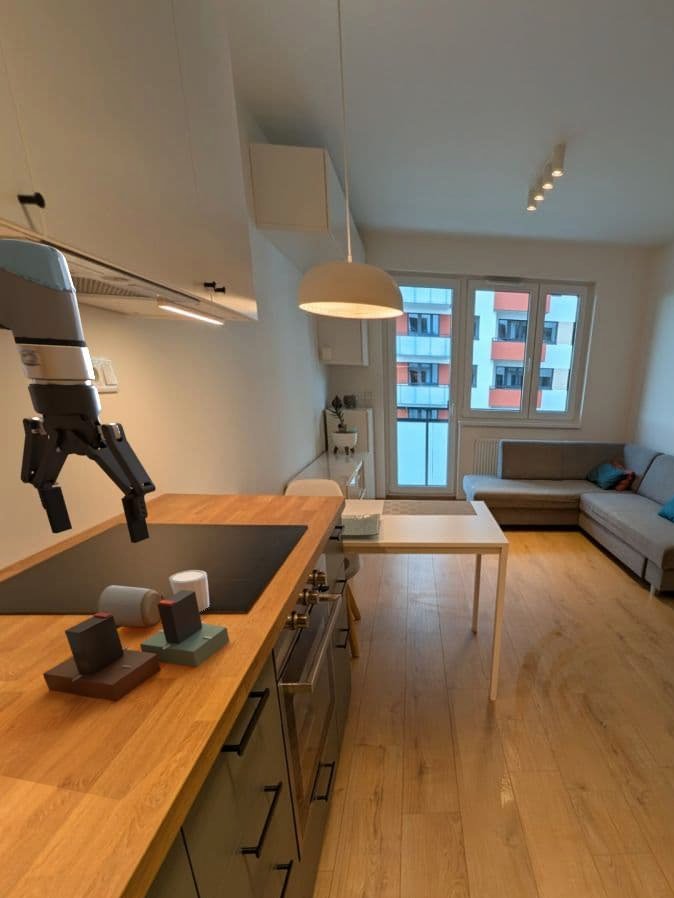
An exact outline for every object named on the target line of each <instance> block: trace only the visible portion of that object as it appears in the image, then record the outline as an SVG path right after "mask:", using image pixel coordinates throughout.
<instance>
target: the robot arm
mask: <svg viewBox="0 0 674 898" xmlns="http://www.w3.org/2000/svg"><path fill="white" fill-rule="evenodd" d="M76 292H77V290H76V287H75V286H74V284H73V280H72V277H71V273H70V269H69V266H68V262H67V259H66V258H65V256H64V254H63V253H62V251H60V250H59V249H57V248H56V247H53V246H50V245H47V244H43V243H39V242H35V241H34V242H33V241H28V240H21V239H13V238H0V330H5V331H6V330H7V331H11V333H12V337H13V340H14V343H15V345H16V349H17V352H18V356H19V358H20V364H21V366H22V370H23V374H24V377H25V378H27V379H28V380H31V381H32V383H29V384H28V386H27V389H28V393H29V397H30V401H31V404H32V407H33V410H34V412H36V414H38V415H42V416H37V417H36V416H35V417H25V418H23V419H22V425H23V431H24V442H23V450H22V451H23V452H22V460H21V467H20V468H21V469H20V481H21V482H22V483H23V484H30V485H32V487H33V488H34V489H35V490H37V493H38V497H39V499H40V502H41V506H42V508H43V510H45V512H46V516H47V519H48V523H49V526H50V529H51V533H52V534H60V533H62V532H67V531H69V530H72V529H73V526H72V523H71V520H70V514H69V512H68V508H67V505H66V500H65V496H64V494H63V491H62V486H59V482H58V481H57V480H58V478H59V475H60V473H61V471H62V469H63V467H64V465H65V463H66V460H67V458H68V456H69V455H77V456H81V457H86V458H88V459H89V460H90V461H94V462H95V463H96V464H97V466H98V467H99V468H100V469H101V470H102V472H104V473H105V474H106V475H107V477H108V478H109V479H110V480H111V481H112V482H113V483H114V484H115V486H116V487H117V488H118V489H119V490H120V491H121V492H122V493H123V495H124V496H123V497H122V498H120V500H121V504H122V508H123V512H124V517H125V521H126V526H127V530H128V534H129V539H130V542H131V543H132V544H137V543H139V542H142V541H145V540H147V539H150V534H149V530H148V524H147V520H146V519H147V518H148V516H149V513H148V508H147V503H146V499H145V496H146V495H148V494H150V493H153V492H155V491H156V485H155V483H154V481H153V480H152V478H151V477H150V475H149V474H148V472H147V471H146V469H145V468H144V465H143V464H142V462H141V461H140V459H139V457H138V456H137V454H136V452H135V451H134V449H133V448H132V446H131V444H130V443H129V441H128V439H127V436H126V434H125V433H126V432H125V430H124V427H123V425H122V424H121V422H111V423H103V424H102V422H101V420H100V417H99V416H100V413H101V412H102V411H103V410H102V406H101V400H100V395H99V391H98V387H96V386H95V385H94V384H91V383H92V382H91V381H94V380H95V374H94V370H93V366H92V362H91V358H90V354H89V349H88V345H87V343H86V340H85V336H84V330H83V325H82V319H81V315H80V309H79V305H78V299H77V293H76Z"/></svg>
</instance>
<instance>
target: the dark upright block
mask: <svg viewBox="0 0 674 898" xmlns="http://www.w3.org/2000/svg"><path fill="white" fill-rule="evenodd" d="M157 605H158V610H159V614H160V622H161V626H162V630H164V635H165V639H166V642H170V643H177V644H180V643H181V642H183V641H184V640H185V639H187V638H188V637H190V636H191V635H192V634H194V633H195V632H197V631H198V630H200V629H201V628H202V623H201V622H202V618H201V615H200V614H201V612H199V608H198V603H197V598H196V594H195V591H187V590H181V591H180V592H178V593H176V594H174V593H173V595H171V596H169V597H168V598H165V599H162V601H160V602H158V604H157Z"/></svg>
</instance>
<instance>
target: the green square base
mask: <svg viewBox="0 0 674 898" xmlns="http://www.w3.org/2000/svg"><path fill="white" fill-rule="evenodd" d="M201 623H202V628H201V629H200V630H198V631H197V632H195V633H194V634H192V635H191V636H190V637H188V638H187V639H185V640H184V641H183V642H181V643H180V644H177V643H170V642H166V639H165V635H164V630H163V629H160V630H157V633H155V634H153V635H152V636H150V637H148V638H147V639H145V640H144V641H142V642H140V644H139V645H140V650H141V652H147V653H154V654H157V656H158V660H159V663H166V664H173V665H179V666H185V667H193V668H198V667H199V666H200V665H202V664H203V663H204V662H205V661H207V660H208V658H210V657H211V656H213V655H214V654H216V653H217V652H218V651H219V650H220V649H222V648H223V647H224V646H225V645H227V644H228V643H229V642H230V637H229V632H228V627H227V626H225V625H216V624H208V623H206V620H201Z"/></svg>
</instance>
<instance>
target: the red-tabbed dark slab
mask: <svg viewBox="0 0 674 898" xmlns="http://www.w3.org/2000/svg"><path fill="white" fill-rule="evenodd" d="M64 633H65V636H66V639H67V642H68V645H69V648H70V651H71V654H72V657H74V660H75V663H76V666H77V669H78V672H82V673H88V674H93V673H95V672H97V671H98V670H100V669H101V668H103V667H105V666H106V665H108V664H109V663H111V662H113V661H114V660H116V659H117V658H119V657H121V656H122V655H124V652H123V645H122V641H121V639H120V638H121V637H120V634H119V631H118V629H117V626H116V624H115V620H114V617H113V615H111V614H107V613H100V612H99V611H98V612H97V613H95V614H93V615H92V616H91V617H88V618H87V619H85V620H83V621H81V622H79V623H77V624H75V625H73V626H71V627H69V628H67V629H65V630H64Z"/></svg>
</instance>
